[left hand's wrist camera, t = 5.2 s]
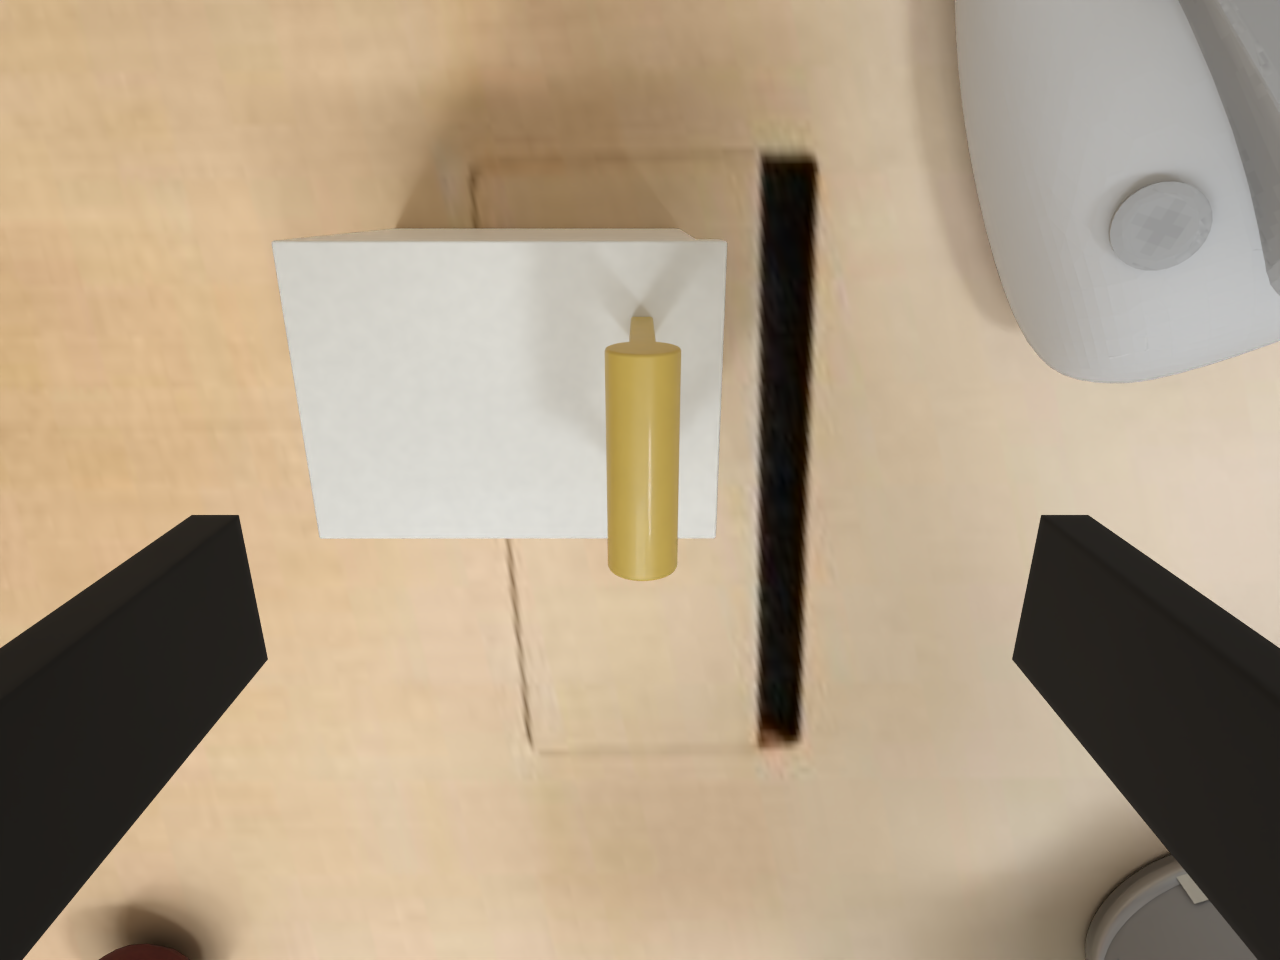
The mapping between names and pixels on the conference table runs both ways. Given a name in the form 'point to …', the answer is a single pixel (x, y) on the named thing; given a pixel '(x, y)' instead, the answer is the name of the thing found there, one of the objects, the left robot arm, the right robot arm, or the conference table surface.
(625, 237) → the chest
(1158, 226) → the projector
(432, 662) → the conference table surface
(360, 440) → the lid
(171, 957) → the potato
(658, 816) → the conference table surface
